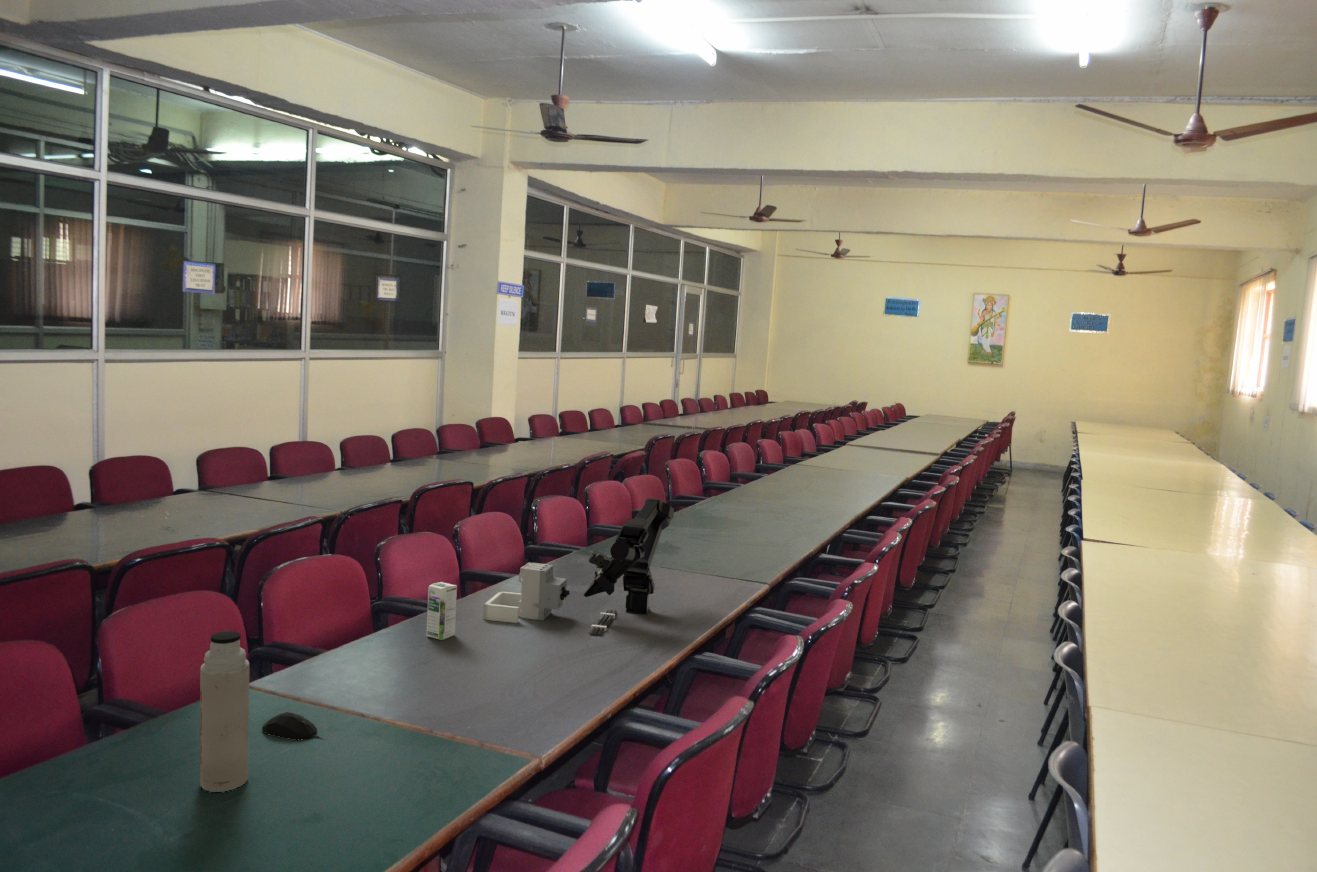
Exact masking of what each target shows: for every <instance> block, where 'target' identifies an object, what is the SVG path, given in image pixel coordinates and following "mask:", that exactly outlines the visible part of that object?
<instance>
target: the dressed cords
mask: <svg viewBox="0 0 1317 872" xmlns="http://www.w3.org/2000/svg"><path fill="white" fill-rule="evenodd" d="M617 613H618V611H617V610H616V609H614V610H613V609H607V608H606V609H605V610H604V611H603V612H600V613H599V614H600V615H599V616H600V617H599V618H598V619H597V620H596V622H595V623H594V624H591V626H590V630H589V631H588V634H589V636H591V635H593V636H599V637H600V636H602V634H603V633H604V632H606V631H608V630H607V629H608V628H607V627H608V626H609V624H611V621H612V620H614V619H615V618H616V614H617Z"/></svg>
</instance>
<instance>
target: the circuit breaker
mask: <svg viewBox="0 0 1317 872" xmlns="http://www.w3.org/2000/svg"><path fill="white" fill-rule="evenodd" d="M554 567H555V566H554V564H548V563H540V562H539V563H538V562H530V561H529V562H527V563H526V564H525V565H523V566H521V567H520V569H519V570H520V571H519V574H518V583H521V588H520V589H521V591H520V593H521V600H520V601H519V602H518V607H519V613H518V618H522V619H528V620H537V619H538V620H539V621H544V620H545V619H546V618H547V617H548V616H549V615H551V613H552V610H557V611H558V610H559V609H560V608H561V607H562V606H564V605H565V604H566V602H567V597H568V596H570V590H567V585H568V578H566V577H565V578H563V577H562V578H561V577H555V576H554Z"/></svg>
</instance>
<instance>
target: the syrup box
mask: <svg viewBox="0 0 1317 872" xmlns="http://www.w3.org/2000/svg"><path fill="white" fill-rule="evenodd" d="M457 592H458V585H457V584H451V583H448V582H444V581H440V582H435V583H431V584H430V585H428V587H427V614H426V615H427V616H426V633H425V634H426V637H427V638H432V639H437V640H440V641H444V640H446V639H448V638H450V637H453V636H455V635H456V616H457V594H458V593H457Z"/></svg>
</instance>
